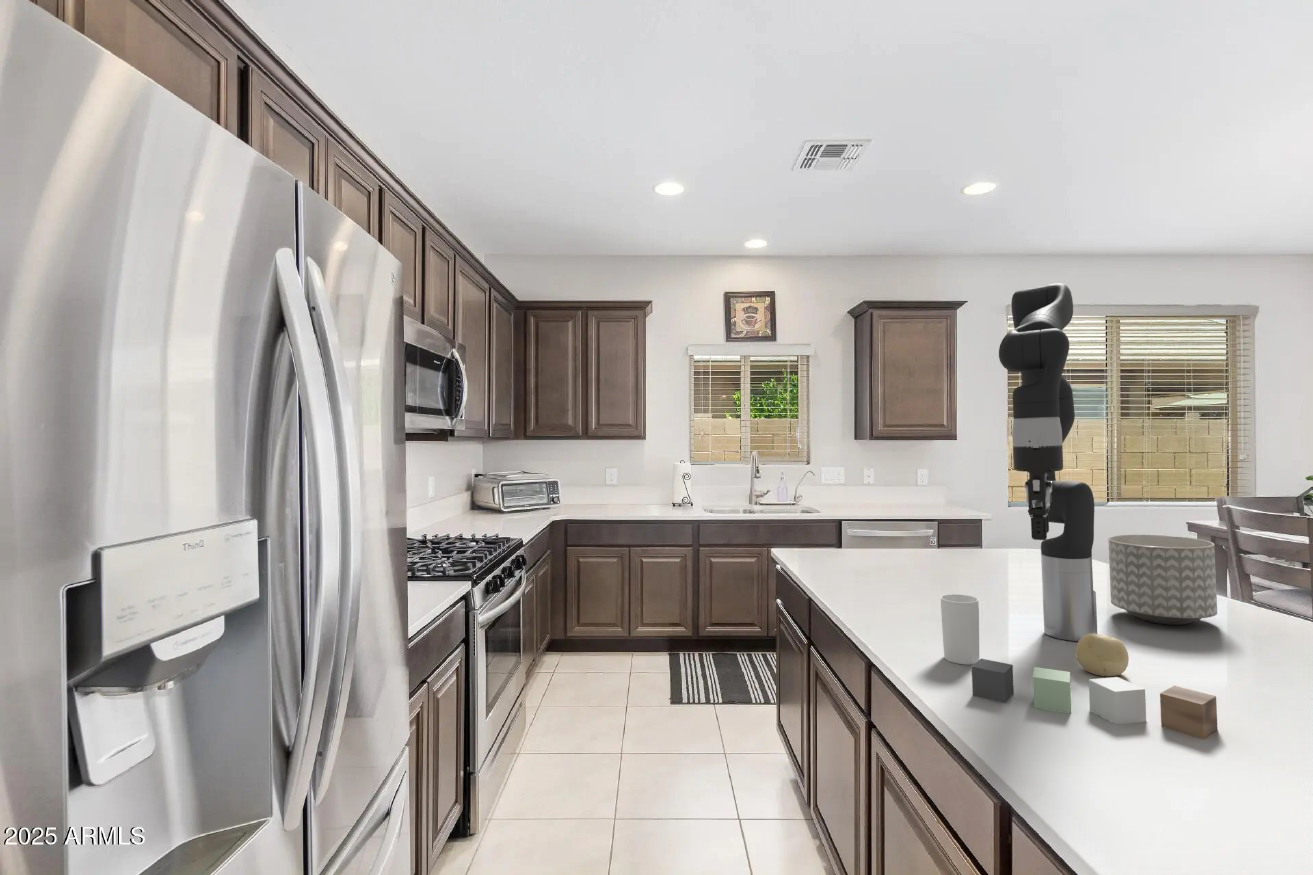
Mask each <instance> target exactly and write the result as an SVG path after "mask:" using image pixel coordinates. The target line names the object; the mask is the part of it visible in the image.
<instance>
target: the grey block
mask: <svg viewBox="0 0 1313 875" xmlns="http://www.w3.org/2000/svg"><path fill="white" fill-rule="evenodd" d="M1088 695H1089V696H1088V697H1089V698H1088V700H1089V711H1090V712H1092V713H1094V714H1096V715H1098V716H1100V717H1101V718H1103V719H1104V720H1106V721H1109V722H1111V723H1112V724H1114V725H1125V724H1127V725H1128V724H1136V723H1137V724H1138V723H1146V722H1147V709H1146V708H1147V707H1146V706H1147V705H1146V704H1147V703H1146V702H1147V701H1146V689H1145V688H1144V687H1141V686H1138V685H1136V684H1134V683H1132V682H1129V681H1127V680H1125V679H1124V678H1121V677H1118V676H1111V677H1105V678H1104V677H1101V678H1092V679H1091V678H1090V679H1088Z"/></svg>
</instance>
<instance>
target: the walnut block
mask: <svg viewBox="0 0 1313 875" xmlns="http://www.w3.org/2000/svg"><path fill="white" fill-rule="evenodd" d="M1159 699H1160V700H1159V702H1160V706H1159V707H1160V723H1161V724H1160V726H1161V727H1162V728H1164V729H1168V730H1171V731H1175V732H1177V733H1182V734H1184V735H1188V736H1191V737H1194V738H1196V739H1197V738H1198V739H1201V740H1205V739H1207V738H1209V737H1210V736H1211V735H1212V734H1215V733H1216V732H1217V731H1218V713H1217V712H1218V710H1217V709H1218V708H1217V707H1218V706H1217V705H1218V704H1217V696H1216V695H1213V694H1208V693H1205V692H1201V691H1197V690H1194V689H1193V690H1192V689H1190V688H1187V687H1181V686H1177V685H1173V686H1171V687H1169V688H1167V689H1166V690H1163V691H1161V692H1160V693H1159Z"/></svg>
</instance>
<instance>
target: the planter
mask: <svg viewBox="0 0 1313 875" xmlns="http://www.w3.org/2000/svg"><path fill="white" fill-rule="evenodd" d="M1107 540H1108V542H1107V543H1108V560H1109V561H1108V562H1109V564H1108V565H1109V566H1108V567H1109V586H1110V588H1109V589H1110V592H1109V593H1110V603H1111V605H1113V606H1114V607H1117V608H1119V609H1121V610H1124V611H1125V612H1127V613H1129V614H1130V615H1132V616H1134V617H1136V618H1138V619H1140V620H1143V621H1145V622H1148V623H1153V624H1158V625H1168V626H1181V625H1182V626H1183V625H1187V624H1191V623H1194V622H1195V623H1196V622H1198V621H1199V620H1201V619H1206V618H1211V617H1215V616H1217V615H1218V597H1217V577H1216V576H1217V572H1216V571H1217V570H1216V551H1215V550H1216V548H1215V547H1216V546H1215V543H1214V542H1212V541H1209V540H1206V539H1201V538H1196V537H1195V538H1194V537H1188V536H1187V537H1186V536H1179V535H1178V536H1176V535H1167V534H1165V535H1164V534H1163V535H1162V534H1119V535H1112V536H1109V537H1108V539H1107Z"/></svg>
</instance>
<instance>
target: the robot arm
mask: <svg viewBox="0 0 1313 875" xmlns="http://www.w3.org/2000/svg"><path fill="white" fill-rule="evenodd" d="M1010 305H1011V315H1012V321H1013V328H1014V329H1011V330H1010V331H1009V332H1007V333H1006V335H1005V336H1004V337H1003V338H1002V340H1001V342H1000V345H999V348H998V358H999V362H1000V364H1001V365H1002V366H1003V368H1005V369H1006V370H1008V371H1009V372H1013V373H1020V376H1021V385H1020V386H1017V387H1016V388H1014V389H1013V391H1012V413H1013V415H1012V416H1013V417H1012V418H1013V421H1012V422H1013V424H1012V430H1011V431H1012V433H1011V434H1012V435H1011V436H1012V460H1013V463H1012V465H1013V466H1012V467H1013V470H1014V471H1017V472H1023V473H1024V472H1027V473H1029V474H1028V479H1027V480H1026V481H1024V489H1025V493H1026V498H1025V499H1026V506H1027V507H1028V509H1027V513H1028V516H1029V518H1030V527H1031V528H1030V529H1031V533H1030V534H1031V539H1032V540H1035V541H1041V543H1040V557H1041V558H1040V559H1041V560H1040V562H1041V583H1042V587H1041V588H1042V607H1043V608H1042V610H1043V611H1042V612H1043V613H1042V614H1043V632H1044V634H1045V635H1047V636H1049V637H1051V638H1055V639H1059V640H1064V641H1074V642H1079V640H1080V639H1081V638H1082V637H1083V636H1085V635H1087V634H1098V612H1097V592H1096V591H1095V590H1094V577H1093V574H1094V573H1093V572H1094V571H1093V552H1092V550H1093V546H1094V541H1095V540H1094V539H1095V497H1094V493H1093V491H1092V489H1091V487H1090V485H1089V484H1087V483H1086V482H1083V481H1078V480H1077V481H1076V480H1075V481H1074V480H1057V479H1056V472H1059V471H1062V470H1063V469H1064V453H1063V452H1064V451H1063V450H1064V449H1063V444H1064V442H1065V440H1066V439H1067V437H1068V435H1069V434H1070V431H1071V429H1072V427H1073V426H1074V423H1075V417H1076V414H1075V403H1074V394H1073V388H1072V386H1071V385H1070V383H1069V382H1068V380H1067V379H1066V378H1065V376H1064V375H1063V372H1064V368H1065V366H1066V362H1067V360H1068V356H1069V351H1070V341H1069V337H1068V336H1067V334H1066V333H1065V332H1064V331H1063V330H1064V329H1065V328H1066V327H1067V326H1068V325H1069V324H1070V322H1071V321H1072V319H1073V315H1074V301H1073V295H1072V292H1071V290H1070V288H1069V286H1068V285H1067V284H1065V283H1049V284H1046V285H1040V286H1036V287H1034V286H1033V287H1030V288H1029V287H1028V288H1025V289H1020V290H1017V291H1015V292H1014V293H1013V294H1012V298H1011V304H1010ZM1050 523H1053V524H1055V523H1056V524H1063V532H1062V533H1061V534H1060V535H1058V536H1055V537H1051V538H1048V533H1049V532H1050Z"/></svg>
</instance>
